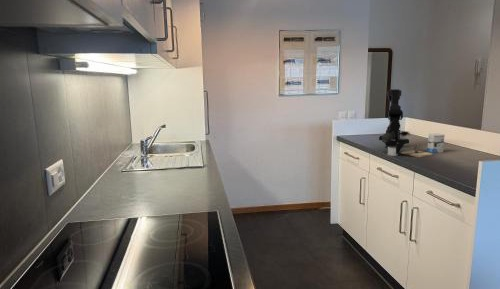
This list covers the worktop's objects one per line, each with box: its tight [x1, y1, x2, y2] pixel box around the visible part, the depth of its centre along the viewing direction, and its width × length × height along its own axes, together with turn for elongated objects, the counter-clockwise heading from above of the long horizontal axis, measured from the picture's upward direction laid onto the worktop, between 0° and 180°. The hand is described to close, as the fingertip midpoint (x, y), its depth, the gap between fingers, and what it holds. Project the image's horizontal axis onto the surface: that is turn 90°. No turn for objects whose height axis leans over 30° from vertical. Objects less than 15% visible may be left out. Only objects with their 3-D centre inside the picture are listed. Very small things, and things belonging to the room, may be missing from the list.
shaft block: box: [400, 143, 434, 158], centre depth 224 cm, size 14×12×6 cm
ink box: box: [426, 132, 445, 154], centre depth 228 cm, size 8×5×12 cm, turn 105°
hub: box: [387, 146, 399, 157], centre depth 224 cm, size 6×6×5 cm
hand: (392, 153), depth 224 cm, fingers closed on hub, 6 cm apart
